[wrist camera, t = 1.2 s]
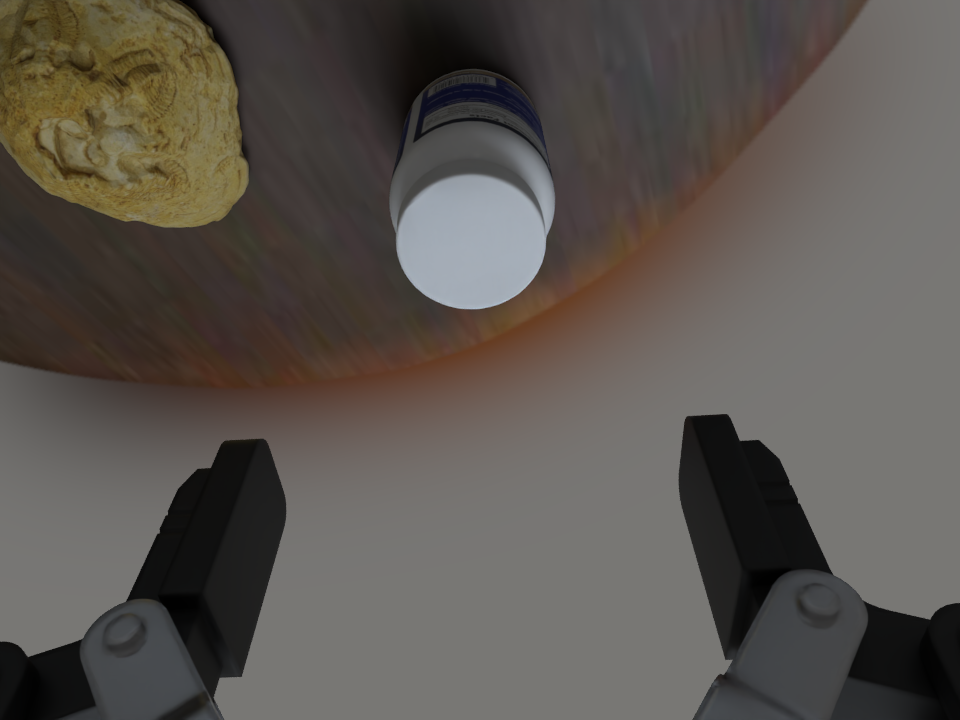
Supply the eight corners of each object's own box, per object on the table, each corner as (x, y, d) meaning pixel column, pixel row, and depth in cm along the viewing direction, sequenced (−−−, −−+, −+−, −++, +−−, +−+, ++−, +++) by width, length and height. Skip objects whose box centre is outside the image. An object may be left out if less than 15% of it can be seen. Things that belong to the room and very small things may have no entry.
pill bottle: (487, 224, 33) (487, 353, 25) (378, 150, 31) (341, 264, 23) (571, 121, 31) (601, 229, 23) (458, 33, 29) (446, 116, 21)
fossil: (242, 126, 25) (112, 317, 29) (313, 100, 30) (194, 266, 34) (-43, -134, 23) (-134, 113, 27) (86, -114, 28) (-8, 92, 33)
